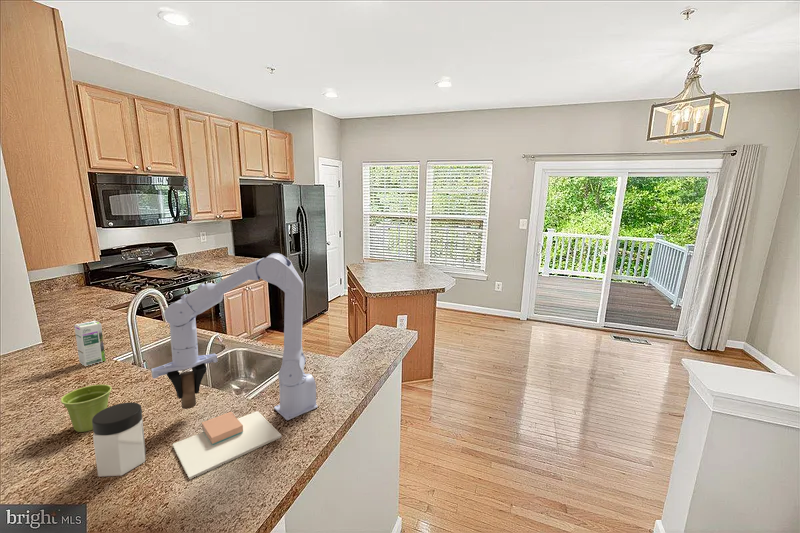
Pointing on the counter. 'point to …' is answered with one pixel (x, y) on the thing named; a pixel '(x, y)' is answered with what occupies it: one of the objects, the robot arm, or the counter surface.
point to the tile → (222, 428)
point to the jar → (118, 439)
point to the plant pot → (86, 405)
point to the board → (224, 445)
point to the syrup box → (90, 342)
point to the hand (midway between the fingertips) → (188, 394)
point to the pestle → (188, 390)
